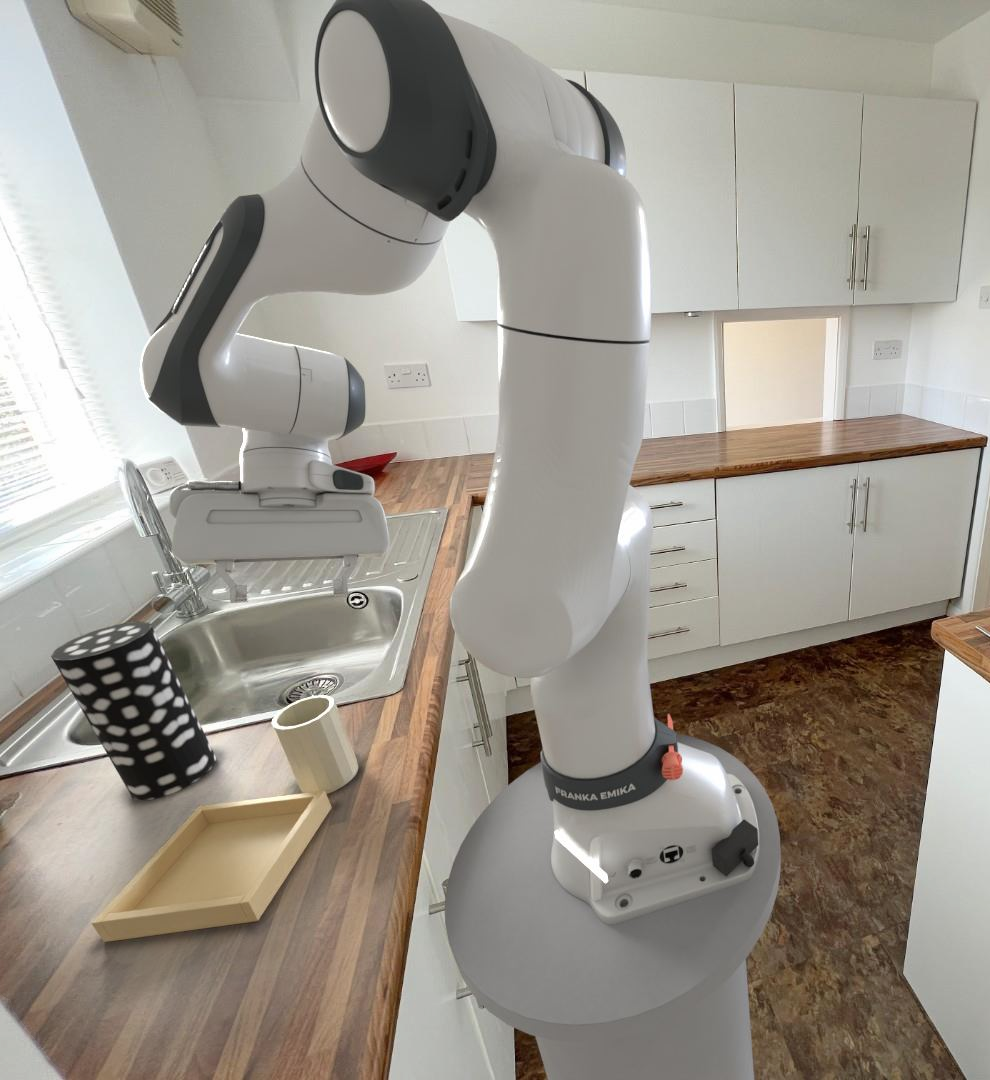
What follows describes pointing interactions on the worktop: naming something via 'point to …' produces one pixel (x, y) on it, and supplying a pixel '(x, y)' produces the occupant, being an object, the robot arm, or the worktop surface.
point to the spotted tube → (136, 708)
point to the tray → (216, 867)
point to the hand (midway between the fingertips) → (292, 598)
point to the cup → (316, 744)
